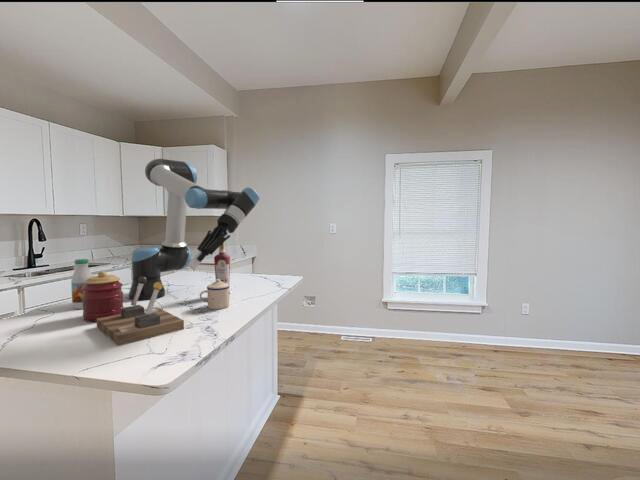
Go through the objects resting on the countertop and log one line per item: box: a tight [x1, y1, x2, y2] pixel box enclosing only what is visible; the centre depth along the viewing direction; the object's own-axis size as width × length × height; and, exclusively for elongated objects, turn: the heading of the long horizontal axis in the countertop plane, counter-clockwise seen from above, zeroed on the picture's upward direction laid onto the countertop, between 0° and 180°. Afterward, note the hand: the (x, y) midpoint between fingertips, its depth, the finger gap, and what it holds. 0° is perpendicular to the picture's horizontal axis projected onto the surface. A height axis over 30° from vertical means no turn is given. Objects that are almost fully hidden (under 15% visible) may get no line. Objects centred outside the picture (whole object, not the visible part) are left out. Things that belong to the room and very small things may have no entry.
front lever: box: [146, 282, 164, 314], centre depth 109 cm, size 3×3×11 cm
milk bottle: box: [70, 258, 93, 310], centre depth 137 cm, size 8×8×20 cm
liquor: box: [213, 241, 231, 295], centre depth 156 cm, size 7×7×28 cm
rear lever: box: [130, 276, 147, 306], centre depth 119 cm, size 3×3×11 cm
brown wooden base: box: [96, 304, 185, 347], centre depth 113 cm, size 23×20×6 cm
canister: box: [81, 270, 124, 323], centre depth 125 cm, size 13×13×18 cm
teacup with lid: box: [199, 279, 230, 310], centre depth 139 cm, size 12×9×12 cm
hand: (190, 267), depth 117 cm, fingers closed
